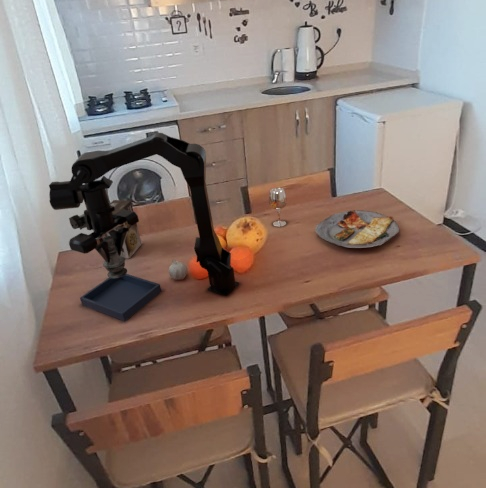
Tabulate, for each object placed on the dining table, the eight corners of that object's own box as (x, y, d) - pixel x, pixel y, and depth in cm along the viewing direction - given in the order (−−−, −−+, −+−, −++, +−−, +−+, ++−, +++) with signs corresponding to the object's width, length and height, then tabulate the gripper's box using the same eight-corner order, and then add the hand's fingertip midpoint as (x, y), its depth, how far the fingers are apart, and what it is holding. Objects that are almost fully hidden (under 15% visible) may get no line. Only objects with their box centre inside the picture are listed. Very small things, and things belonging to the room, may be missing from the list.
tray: (161, 291, 130) (160, 284, 128) (124, 321, 120) (122, 313, 118) (120, 278, 138) (118, 271, 137) (82, 305, 128) (79, 297, 127)
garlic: (167, 274, 137) (164, 259, 134) (185, 269, 138) (182, 254, 136) (172, 284, 132) (169, 269, 129) (191, 279, 133) (188, 264, 131)
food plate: (347, 210, 161) (347, 200, 159) (411, 227, 146) (412, 217, 144) (302, 239, 146) (302, 229, 145) (368, 262, 132) (368, 251, 130)
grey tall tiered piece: (122, 279, 123) (111, 239, 116) (102, 278, 124) (90, 239, 118) (131, 267, 127) (121, 228, 121) (112, 266, 129) (100, 228, 123)
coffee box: (125, 243, 156) (113, 199, 148) (142, 244, 155) (131, 199, 147) (111, 257, 149) (98, 212, 141) (129, 258, 147) (117, 212, 139)
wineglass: (269, 221, 160) (267, 188, 154) (286, 218, 160) (284, 186, 154) (272, 228, 155) (269, 195, 149) (289, 226, 155) (287, 192, 149)
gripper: (103, 186, 126) (117, 237, 134) (46, 215, 113) (65, 269, 121) (133, 192, 120) (146, 244, 128) (76, 223, 107) (94, 279, 115)
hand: (113, 258), depth 123 cm, fingers closed on grey tall tiered piece, 3 cm apart
